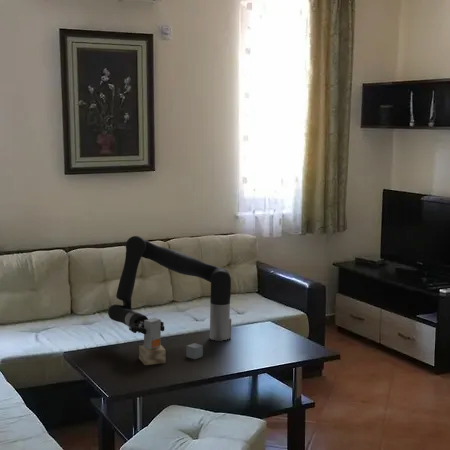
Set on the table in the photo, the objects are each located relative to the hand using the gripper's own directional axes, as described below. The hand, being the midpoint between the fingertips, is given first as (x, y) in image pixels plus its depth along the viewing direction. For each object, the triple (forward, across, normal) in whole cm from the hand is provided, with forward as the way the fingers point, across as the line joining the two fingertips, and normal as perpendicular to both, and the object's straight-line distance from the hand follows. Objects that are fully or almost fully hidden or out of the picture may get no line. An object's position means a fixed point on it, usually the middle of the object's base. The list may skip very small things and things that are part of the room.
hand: (154, 330), depth 289 cm
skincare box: (-2, 0, +8) cm, 8 cm away
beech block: (-2, 0, +14) cm, 14 cm away
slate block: (+3, +18, +14) cm, 23 cm away
